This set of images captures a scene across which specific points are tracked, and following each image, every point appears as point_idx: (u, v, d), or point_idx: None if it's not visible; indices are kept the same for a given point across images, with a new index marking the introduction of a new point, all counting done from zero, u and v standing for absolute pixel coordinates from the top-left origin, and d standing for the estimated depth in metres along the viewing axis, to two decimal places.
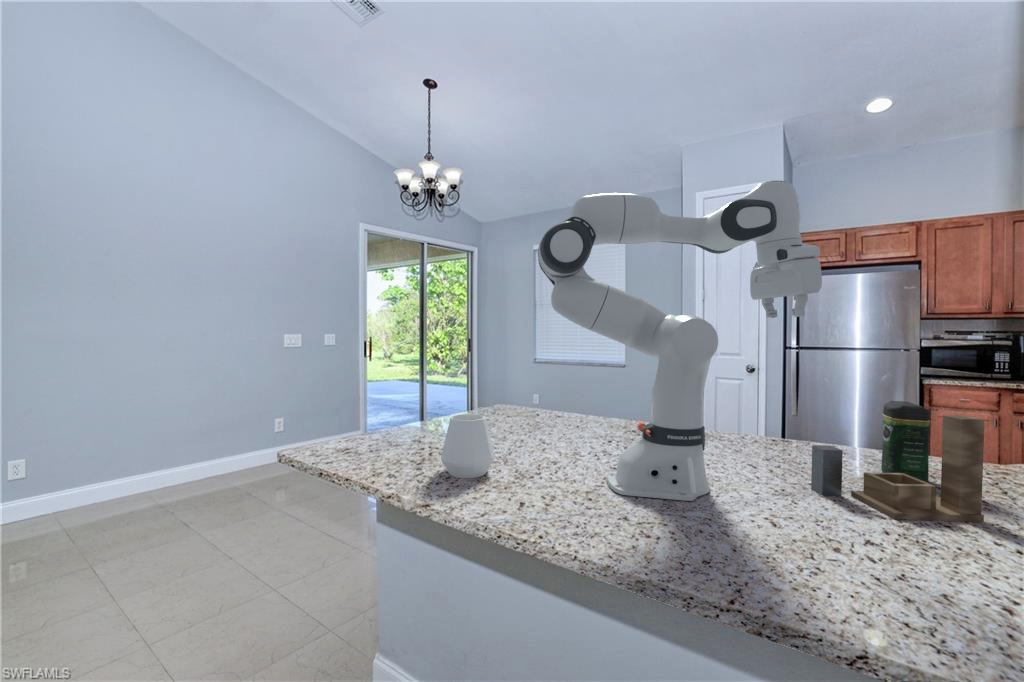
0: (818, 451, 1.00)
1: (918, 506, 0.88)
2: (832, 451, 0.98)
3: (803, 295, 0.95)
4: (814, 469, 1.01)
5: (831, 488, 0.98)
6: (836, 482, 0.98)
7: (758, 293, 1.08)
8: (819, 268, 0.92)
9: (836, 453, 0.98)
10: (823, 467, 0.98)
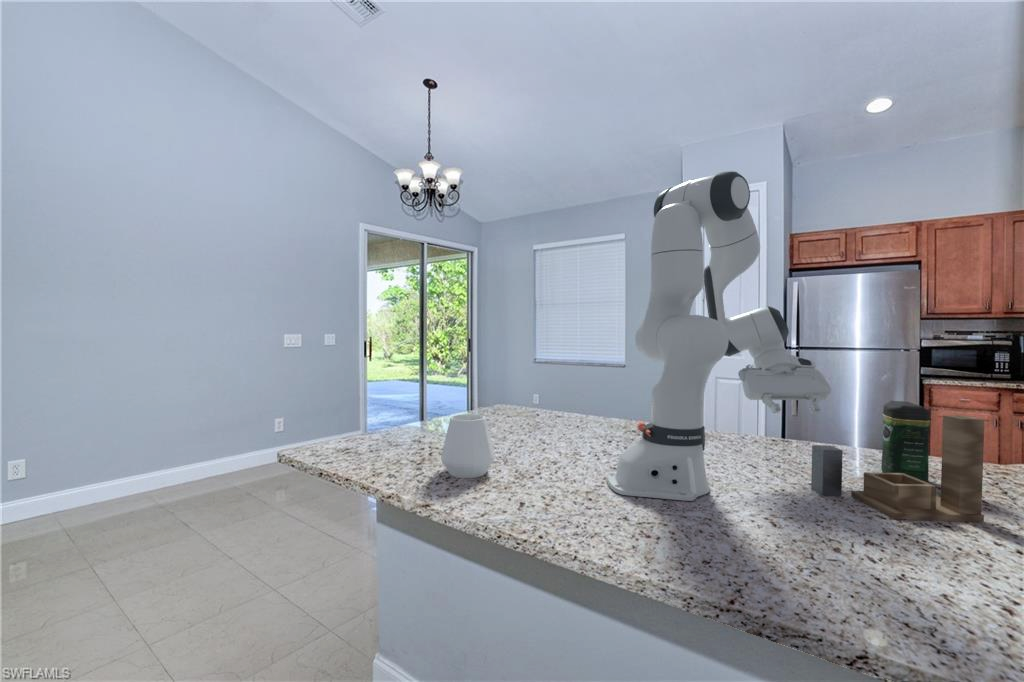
0: (818, 451, 1.00)
1: (918, 506, 0.88)
2: (832, 451, 0.98)
3: None
4: (814, 469, 1.01)
5: (831, 488, 0.98)
6: (836, 482, 0.98)
7: (764, 387, 1.15)
8: None
9: (836, 453, 0.98)
10: (823, 467, 0.98)
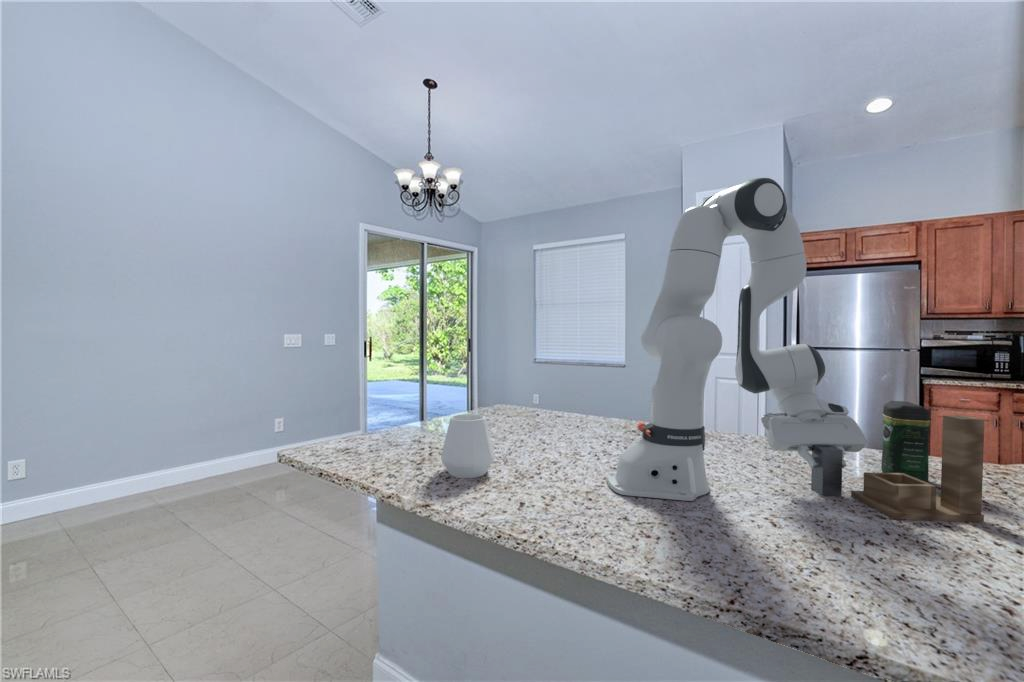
0: (818, 451, 1.00)
1: (918, 506, 0.88)
2: (832, 451, 0.98)
3: None
4: (814, 469, 1.01)
5: (831, 488, 0.98)
6: (836, 482, 0.98)
7: (791, 438, 1.03)
8: None
9: (836, 453, 0.98)
10: (823, 467, 0.98)
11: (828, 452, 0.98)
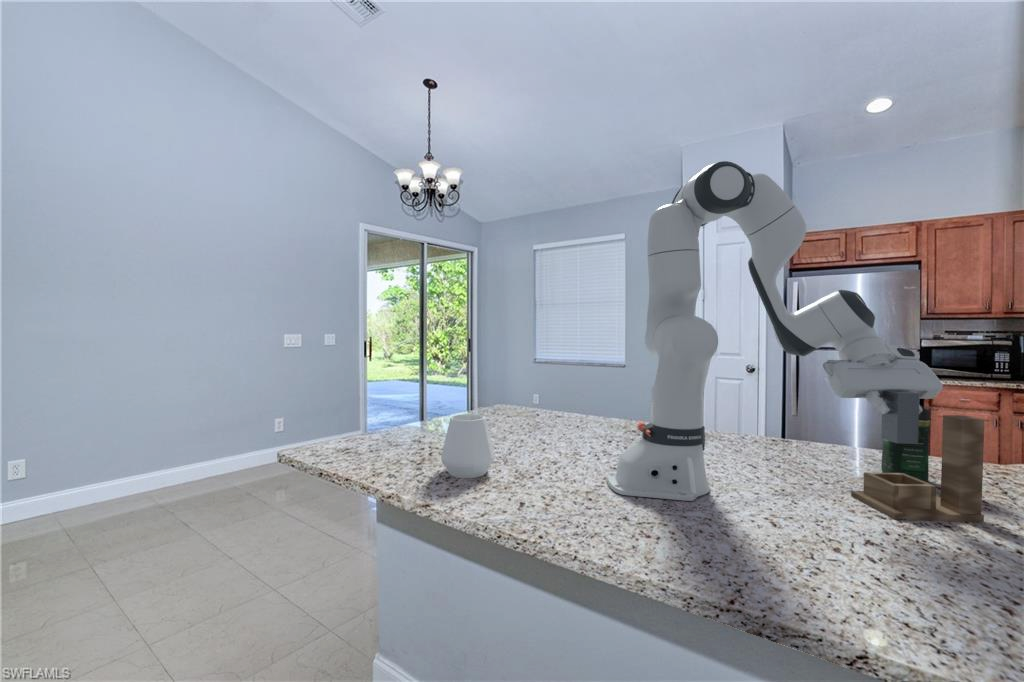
0: (891, 396, 0.91)
1: (918, 506, 0.88)
2: (908, 394, 0.90)
3: None
4: (885, 416, 0.93)
5: (906, 435, 0.90)
6: (912, 428, 0.90)
7: (859, 383, 0.94)
8: None
9: (912, 397, 0.90)
10: (898, 412, 0.90)
11: (903, 396, 0.90)
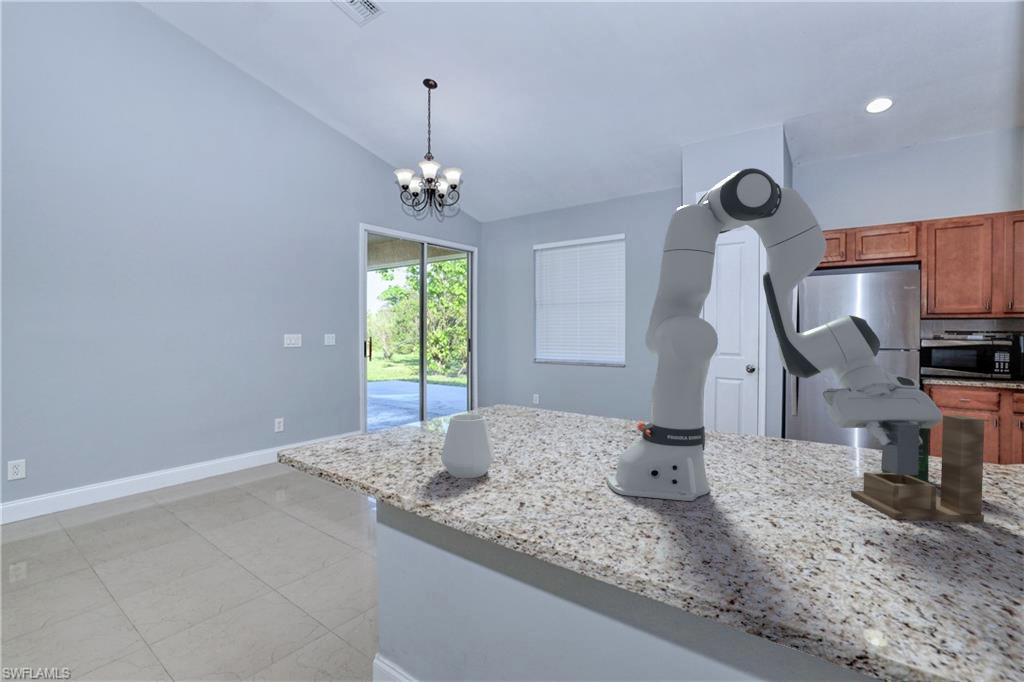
0: (891, 427, 0.92)
1: (918, 506, 0.88)
2: (908, 426, 0.90)
3: None
4: (885, 446, 0.93)
5: (906, 467, 0.90)
6: (912, 460, 0.90)
7: (859, 414, 0.94)
8: None
9: (912, 428, 0.90)
10: (898, 443, 0.90)
11: (903, 427, 0.90)
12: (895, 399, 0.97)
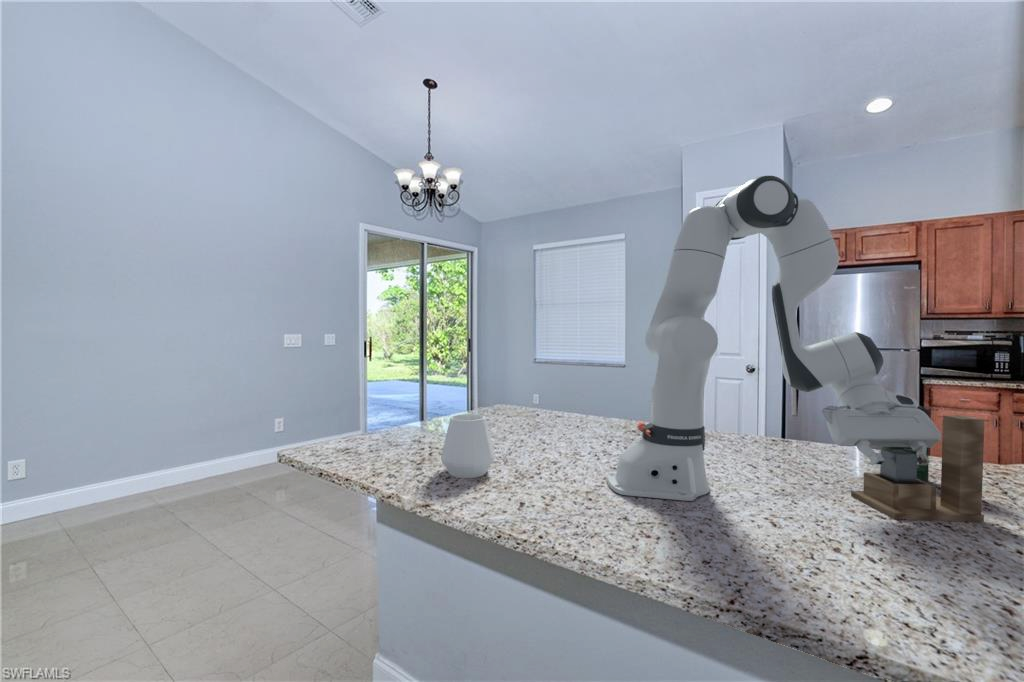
0: (889, 456, 0.92)
1: (918, 506, 0.88)
2: (906, 456, 0.90)
3: None
4: (883, 475, 0.93)
5: None
6: None
7: (858, 432, 0.94)
8: None
9: (910, 458, 0.90)
10: (896, 473, 0.90)
11: (901, 457, 0.90)
12: (894, 418, 0.97)
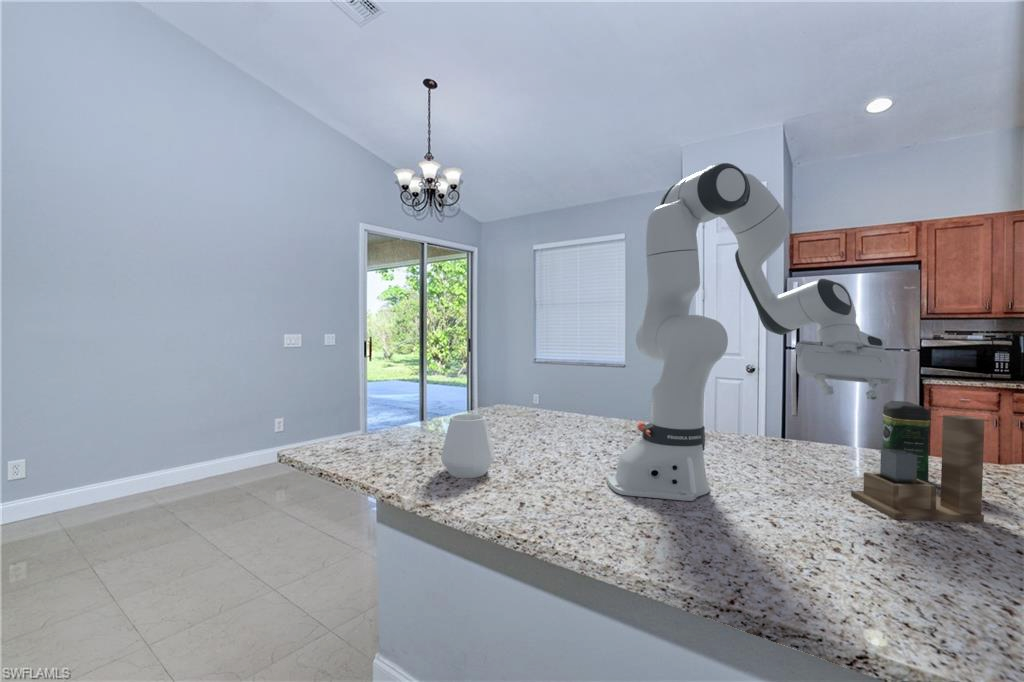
0: (889, 456, 0.92)
1: (918, 506, 0.88)
2: (906, 456, 0.90)
3: None
4: (883, 475, 0.93)
5: None
6: None
7: (820, 367, 1.07)
8: None
9: (910, 458, 0.90)
10: (896, 473, 0.90)
11: (901, 457, 0.90)
12: (859, 356, 1.07)
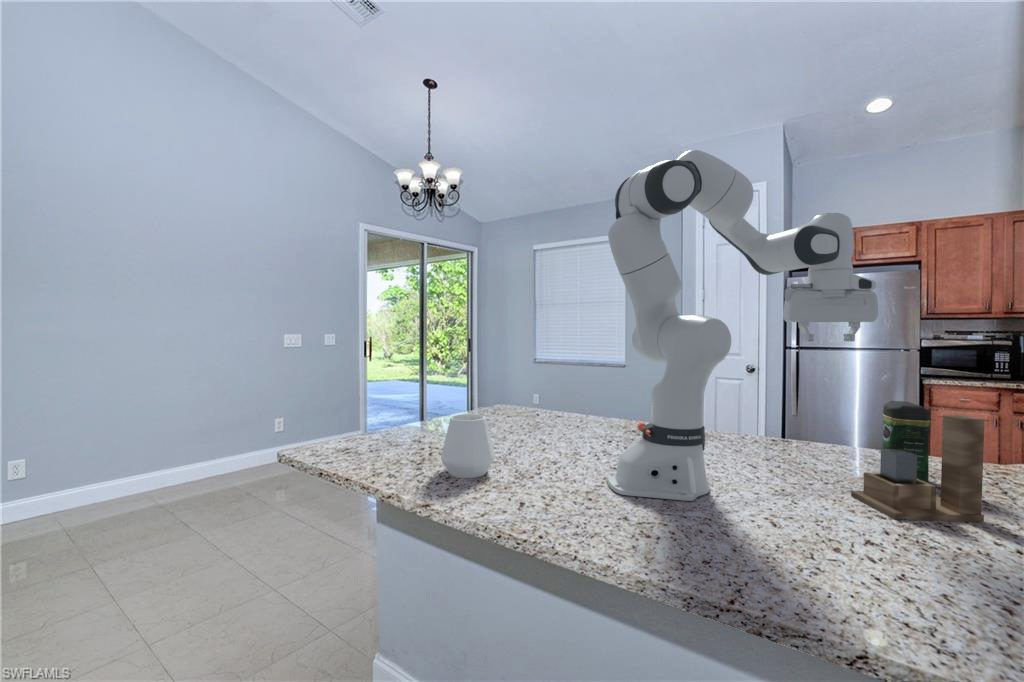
0: (889, 456, 0.92)
1: (918, 506, 0.88)
2: (906, 456, 0.90)
3: None
4: (883, 475, 0.93)
5: None
6: None
7: (805, 316, 1.07)
8: None
9: (910, 458, 0.90)
10: (896, 473, 0.90)
11: (901, 457, 0.90)
12: (846, 299, 1.07)
